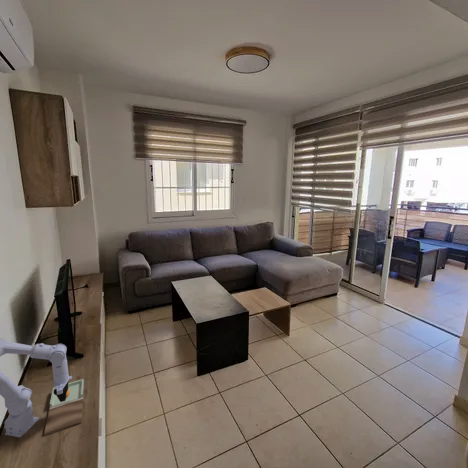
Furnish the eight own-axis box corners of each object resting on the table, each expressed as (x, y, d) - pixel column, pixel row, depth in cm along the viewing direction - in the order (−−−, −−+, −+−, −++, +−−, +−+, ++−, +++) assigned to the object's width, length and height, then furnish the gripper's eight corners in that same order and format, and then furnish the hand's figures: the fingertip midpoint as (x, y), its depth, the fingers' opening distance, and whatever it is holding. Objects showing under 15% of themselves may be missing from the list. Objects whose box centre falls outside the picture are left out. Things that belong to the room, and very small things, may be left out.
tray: (82, 397, 132) (82, 394, 132) (50, 407, 126) (49, 404, 125) (84, 381, 142) (83, 378, 142) (53, 390, 136) (53, 387, 136)
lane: (81, 423, 119) (81, 421, 119) (44, 435, 113) (44, 433, 112) (84, 383, 143) (84, 381, 142) (53, 391, 136) (53, 390, 136)
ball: (64, 403, 120) (63, 394, 119) (55, 401, 121) (53, 392, 120) (72, 394, 125) (71, 385, 124) (63, 393, 125) (62, 384, 125)
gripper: (69, 378, 115) (72, 405, 118) (72, 359, 128) (75, 383, 131) (49, 384, 112) (53, 410, 115) (55, 363, 125) (58, 387, 127)
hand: (63, 396), depth 122 cm, fingers closed on ball, 5 cm apart
